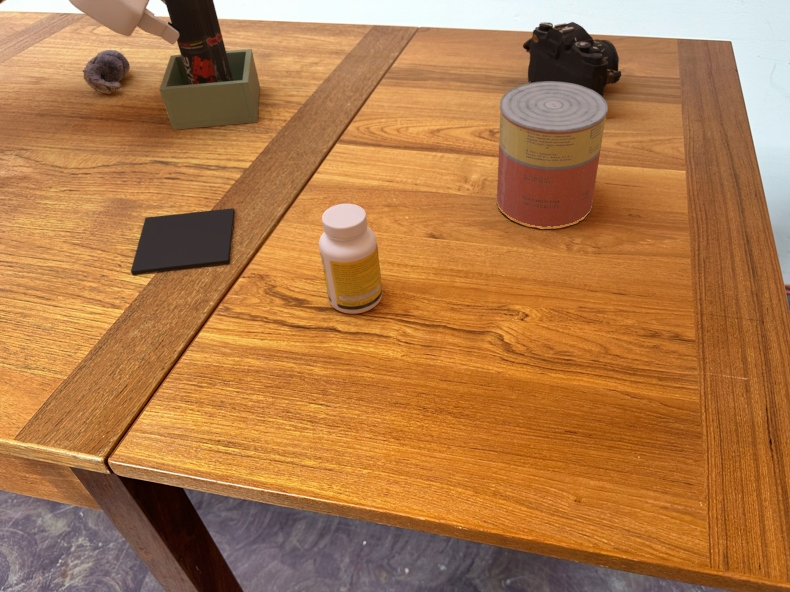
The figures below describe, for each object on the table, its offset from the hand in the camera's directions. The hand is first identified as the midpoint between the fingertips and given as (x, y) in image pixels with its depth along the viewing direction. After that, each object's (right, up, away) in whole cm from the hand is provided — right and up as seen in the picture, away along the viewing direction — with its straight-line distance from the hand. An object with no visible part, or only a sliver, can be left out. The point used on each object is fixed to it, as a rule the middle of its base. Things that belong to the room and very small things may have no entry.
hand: (182, 25), depth 89 cm
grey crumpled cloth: (-17, -2, +15) cm, 23 cm away
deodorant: (+2, -8, +8) cm, 11 cm away
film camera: (+54, -6, +10) cm, 55 cm away
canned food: (+47, -26, -10) cm, 55 cm away
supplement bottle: (+26, -38, -22) cm, 51 cm away
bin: (+2, -8, +8) cm, 12 cm away
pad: (+6, -31, -15) cm, 35 cm away
